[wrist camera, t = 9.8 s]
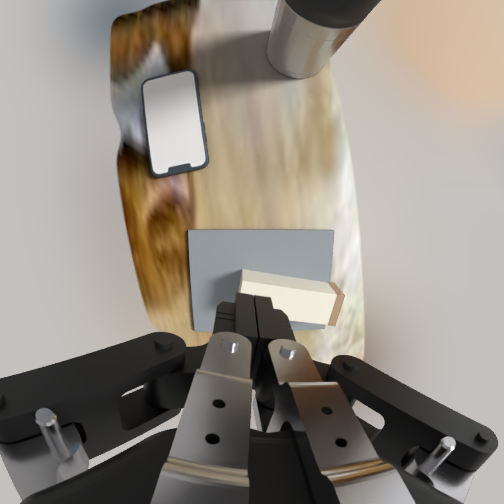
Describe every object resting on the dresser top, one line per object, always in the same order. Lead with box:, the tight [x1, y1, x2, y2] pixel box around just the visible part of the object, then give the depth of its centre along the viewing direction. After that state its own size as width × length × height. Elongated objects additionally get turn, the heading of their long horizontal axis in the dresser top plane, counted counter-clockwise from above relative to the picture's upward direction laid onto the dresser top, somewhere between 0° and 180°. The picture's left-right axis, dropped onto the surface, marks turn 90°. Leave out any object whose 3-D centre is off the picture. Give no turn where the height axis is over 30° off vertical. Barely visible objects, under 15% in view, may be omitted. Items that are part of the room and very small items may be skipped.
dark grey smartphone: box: [141, 69, 209, 177], centre depth 38 cm, size 9×2×16 cm
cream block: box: [238, 269, 345, 326], centre depth 43 cm, size 5×5×15 cm
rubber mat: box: [188, 229, 334, 332], centre depth 45 cm, size 17×22×1 cm
